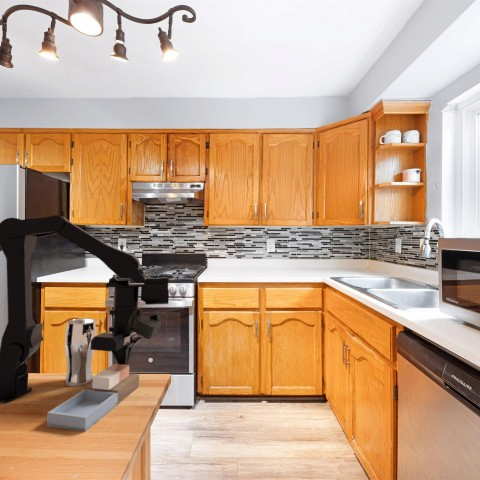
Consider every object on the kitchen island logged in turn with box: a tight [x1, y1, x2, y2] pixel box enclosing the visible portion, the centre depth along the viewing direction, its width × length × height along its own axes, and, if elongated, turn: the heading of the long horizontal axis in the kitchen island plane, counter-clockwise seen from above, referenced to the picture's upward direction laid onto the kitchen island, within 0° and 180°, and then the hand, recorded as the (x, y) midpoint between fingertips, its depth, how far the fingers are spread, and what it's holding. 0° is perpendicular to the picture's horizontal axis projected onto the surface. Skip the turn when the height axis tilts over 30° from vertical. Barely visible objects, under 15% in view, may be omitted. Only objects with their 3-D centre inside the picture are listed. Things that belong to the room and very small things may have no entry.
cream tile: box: [92, 369, 120, 390], centre depth 69 cm, size 4×4×2 cm
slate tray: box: [46, 388, 119, 433], centre depth 62 cm, size 8×10×2 cm
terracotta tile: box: [104, 363, 130, 382], centre depth 73 cm, size 4×4×2 cm
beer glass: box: [64, 317, 97, 387], centre depth 78 cm, size 7×7×15 cm
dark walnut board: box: [84, 372, 140, 405], centre depth 71 cm, size 8×9×3 cm
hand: (123, 369), depth 76 cm, fingers closed
